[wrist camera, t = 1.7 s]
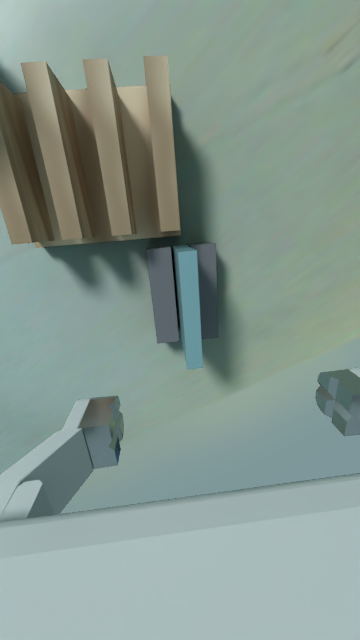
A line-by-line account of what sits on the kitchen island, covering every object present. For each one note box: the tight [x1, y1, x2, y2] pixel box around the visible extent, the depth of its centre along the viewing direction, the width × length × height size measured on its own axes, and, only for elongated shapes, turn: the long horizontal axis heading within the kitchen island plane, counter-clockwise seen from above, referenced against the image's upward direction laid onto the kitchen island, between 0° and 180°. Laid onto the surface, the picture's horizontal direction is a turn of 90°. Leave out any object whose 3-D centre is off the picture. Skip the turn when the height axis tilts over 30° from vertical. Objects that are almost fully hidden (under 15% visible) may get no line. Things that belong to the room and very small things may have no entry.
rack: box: [0, 55, 181, 248], centre depth 21 cm, size 14×12×6 cm
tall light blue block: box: [173, 245, 203, 370], centre depth 24 cm, size 1×10×9 cm, turn 4°
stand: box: [146, 243, 218, 344], centre depth 26 cm, size 7×10×3 cm
